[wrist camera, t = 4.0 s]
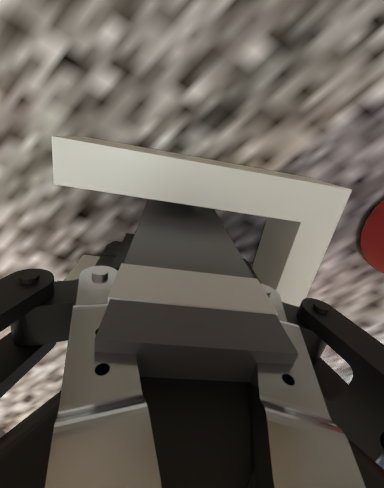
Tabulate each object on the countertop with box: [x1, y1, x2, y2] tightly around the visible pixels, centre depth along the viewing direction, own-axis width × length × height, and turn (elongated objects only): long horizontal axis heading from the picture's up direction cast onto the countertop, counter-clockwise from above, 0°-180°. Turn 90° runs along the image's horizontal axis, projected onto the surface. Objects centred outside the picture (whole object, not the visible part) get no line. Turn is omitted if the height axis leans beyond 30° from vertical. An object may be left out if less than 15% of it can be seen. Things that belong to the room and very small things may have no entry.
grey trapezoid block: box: [94, 199, 298, 382], centre depth 11 cm, size 4×4×12 cm
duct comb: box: [52, 136, 352, 307], centre depth 17 cm, size 14×24×5 cm, turn 170°
